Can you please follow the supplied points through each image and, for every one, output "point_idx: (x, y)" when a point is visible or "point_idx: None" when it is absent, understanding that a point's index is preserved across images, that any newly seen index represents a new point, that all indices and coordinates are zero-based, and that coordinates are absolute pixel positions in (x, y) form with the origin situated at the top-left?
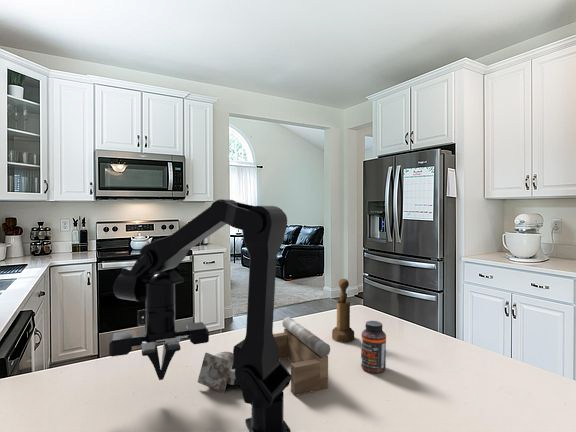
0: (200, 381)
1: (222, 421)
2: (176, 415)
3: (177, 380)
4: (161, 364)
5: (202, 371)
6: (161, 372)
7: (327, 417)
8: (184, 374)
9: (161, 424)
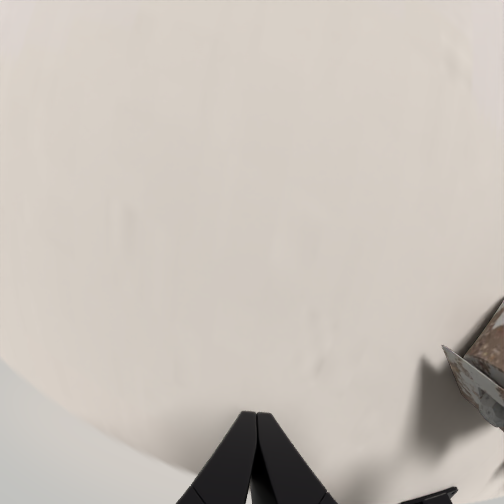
0: (449, 356)
1: (368, 497)
2: None
3: (383, 200)
4: (266, 477)
5: (482, 379)
6: (251, 483)
7: (486, 487)
8: (430, 149)
9: None
